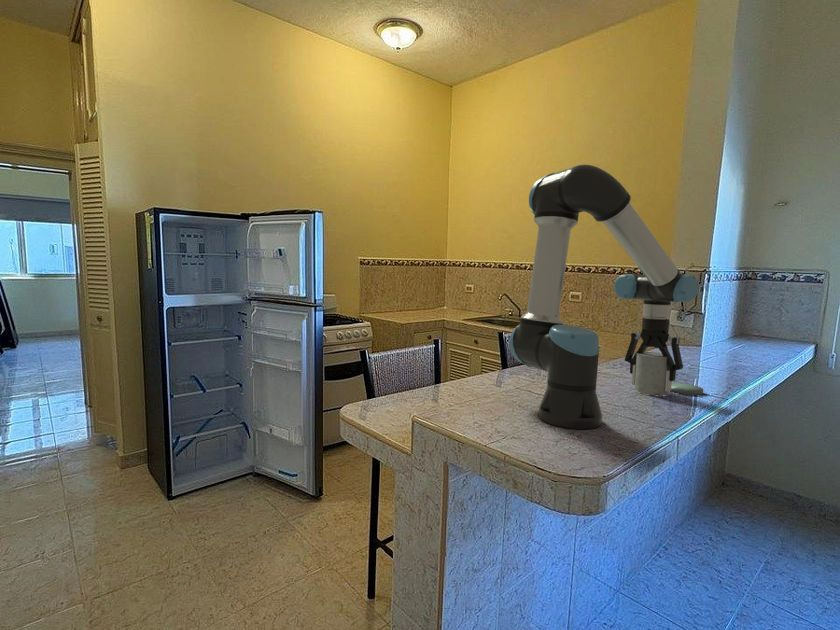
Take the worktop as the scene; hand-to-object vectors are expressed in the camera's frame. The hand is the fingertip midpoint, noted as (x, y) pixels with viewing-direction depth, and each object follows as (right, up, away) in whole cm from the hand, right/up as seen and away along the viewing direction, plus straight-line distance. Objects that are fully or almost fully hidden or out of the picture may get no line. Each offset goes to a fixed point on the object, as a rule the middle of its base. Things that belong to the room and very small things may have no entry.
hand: (650, 387), depth 140 cm
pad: (+12, -2, +2) cm, 12 cm away
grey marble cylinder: (0, -2, 0) cm, 2 cm away
